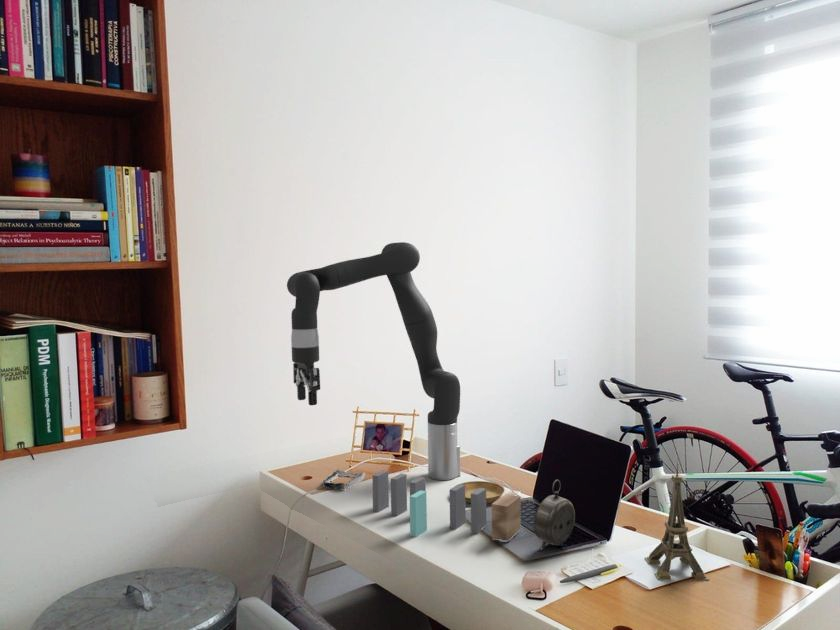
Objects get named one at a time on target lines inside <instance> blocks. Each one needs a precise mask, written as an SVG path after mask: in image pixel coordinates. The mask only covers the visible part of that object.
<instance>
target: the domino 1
mask: <svg viewBox="0 0 840 630" xmlns="http://www.w3.org/2000/svg"><path fill="white" fill-rule="evenodd" d="M371 476H372V477H371V479H372V484H371V485H372V512H375V513H380V512H382V511H384V510H385V509H387V508H389V507H390V497H389V496H390V495H389V493H390V492H389V489H390V487H389V471H388V470H384V469H382V470H381V471H378V472H376V473H374V474H372V475H371Z"/></svg>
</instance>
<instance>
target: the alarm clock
mask: <svg viewBox="0 0 840 630" xmlns="http://www.w3.org/2000/svg"><path fill="white" fill-rule="evenodd" d="M556 482H558V483H559V487H558V488H559V489H558V491H557V490H556V491H555V490H554V489H555V488H554V487H555V484H556ZM561 486H562V484H561V480H559V479H555V480H554V481H553V483H552V487H551V488H552V493H553V494H550V495H548V496H546V497H545V498H544V499H543V500H542V501H541V503H540V505H539V506H538V508H537V510H536V512H535V516H534V521H533V522H534V527H533V528H534V533H535V535H536V537H537V539H538V540H540V541H542V544H541V547H540V549H541V548H543V549H544V547H545V546H546V544H550V545H552V546H562V545H563V546H564V543H565V542H566V541H567V540H568V539H569V537H570V536H571V534H572V531H573V529H574V525H575V521H576V511H575V508H574V505H573V503H572V501H570V500H569V499H567V498H564V497H561V496H559V492H560V490H561V488H562V487H561Z"/></svg>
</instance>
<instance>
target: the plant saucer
mask: <svg viewBox="0 0 840 630" xmlns="http://www.w3.org/2000/svg"><path fill="white" fill-rule="evenodd" d="M460 484H462V485H465V503H468V504H471V493H472V492H474V491H475V490H477V489H479V488H484V489H486V505H487V504H492V503H494V502H495V501H496V500H498V499H499V498H501V497H502V496H503V495H504V493H505V490H506V489H505V488H504V487H503V486H502V485H500V484H499V483H496V482H493V481H492V482H491V481H483V480H482V481H481V480H473V481H466V482H462V483H460Z"/></svg>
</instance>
